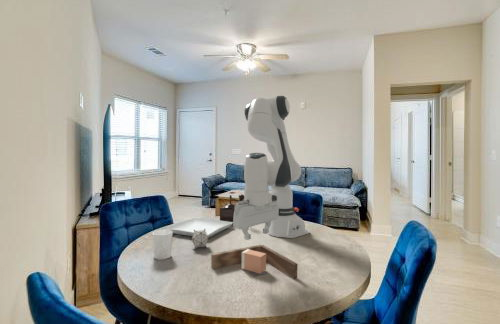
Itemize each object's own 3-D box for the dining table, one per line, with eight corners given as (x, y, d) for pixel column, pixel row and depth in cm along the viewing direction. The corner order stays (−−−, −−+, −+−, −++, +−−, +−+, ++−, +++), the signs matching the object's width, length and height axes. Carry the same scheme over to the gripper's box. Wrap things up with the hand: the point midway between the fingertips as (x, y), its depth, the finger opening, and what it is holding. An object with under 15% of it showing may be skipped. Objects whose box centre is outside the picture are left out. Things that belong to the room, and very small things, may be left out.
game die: (202, 257, 123) (204, 243, 117) (185, 248, 124) (187, 235, 118) (211, 242, 130) (214, 228, 124) (195, 234, 131) (197, 220, 125)
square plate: (234, 228, 157) (234, 221, 157) (207, 242, 132) (207, 234, 132) (194, 222, 168) (194, 216, 168) (162, 235, 143) (162, 227, 143)
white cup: (176, 254, 115) (176, 230, 115) (164, 261, 108) (164, 236, 108) (160, 252, 118) (160, 228, 118) (148, 258, 110) (148, 233, 110)
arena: (262, 256, 114) (262, 244, 114) (297, 278, 95) (297, 263, 95) (211, 267, 103) (211, 253, 103) (239, 294, 84) (239, 278, 83)
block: (266, 269, 100) (266, 253, 100) (260, 274, 97) (260, 256, 97) (247, 264, 105) (247, 249, 104) (241, 268, 101) (241, 252, 101)
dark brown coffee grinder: (218, 223, 165) (218, 193, 164) (225, 219, 176) (225, 191, 175) (243, 226, 161) (243, 195, 160) (248, 221, 171) (249, 192, 171)
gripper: (241, 203, 90) (241, 245, 91) (281, 195, 104) (281, 231, 105) (228, 201, 95) (229, 241, 95) (268, 193, 109) (269, 228, 110)
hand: (257, 236), depth 100 cm, fingers open, 8 cm apart
